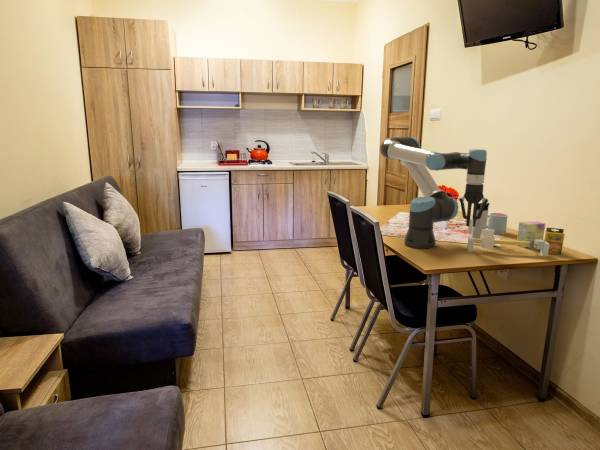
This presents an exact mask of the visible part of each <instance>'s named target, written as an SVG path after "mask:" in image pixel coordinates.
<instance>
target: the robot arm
mask: <svg viewBox="0 0 600 450" xmlns="http://www.w3.org/2000/svg"><path fill="white" fill-rule="evenodd" d="M420 147H421V143H420V142H419V140H418V139H417V138H415V137H413V136H394V137H393V136H390V137H388V138H385V139H384V140H383V141H382V142H381V144H380V146H379V151H380V155H381V156H382V157H384V158H385V159H387V160H388V159H389V160H393V161H394V160H395V161H396V160H398V161H399V163H400V165H402V166H405V168H406V169H407V171H408V173H409V174H410V176H411V177H412V179H413V180H414V182H415V184H416V185H417V187H418V189H419V191H420V192H421V194H422V196H418V197H417V196H416V197H415V198H414V197H413V199H411V200H410V205H409V215H408V229H407V231H406V234H405V235H404V239H403V244H404V245H405V246H406V247H410V248H414V249H431V248H434V247H436V237H435V234H434V224H435V223H440V222H448V221H451V220H453V219H454V218H455V217H456V216H457V215H458V213H459V203H460V208H461V214H462V218H464V219H465V221H466V222H465V226H466V227H467V233H468V235H472V232H473V227H475V223H476V220H477V219H480V218H481V215H482V212H483V210H484V207H485V204H486V203H489V199H488V198H485V196H484V186H485V185H484V183H485V174H486V173H485V172H486V166H487V160H488V158H487V154H488V151H487V150H486V149H482V148H481V149H476V148H474V149H473V148H472V149H469V151H468V152H467V153H466V152H458V151H456V152H455V151H453V152H449V153H448V152H447V153H443V152H442V153H441V152H436V151H432V150H428V149H422V148H420ZM444 170H466V178H465V179H466V181H465V182H466V184H465V190H464V194H463V196H461V197H458V201H459V203H458V201H457V200H456V198H454V197H452V196H448V194H447V193H446V191H445V190H441V189H440V187H439V185H438V184H437V183H436V181H435V179H434V178H433V176H432V174H431V173H430V171H438V172H439V171H444ZM465 200H466V202H467V210H466V206H465ZM478 203H482V204H481V206H480V209H479V212H478V214H477V206H478ZM472 206H473V209H472ZM466 211H467V212H466ZM471 215H472V218H471ZM476 215H477V216H476Z"/></svg>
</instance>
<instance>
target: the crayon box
mask: <svg viewBox="0 0 600 450" xmlns="http://www.w3.org/2000/svg"><path fill="white" fill-rule="evenodd" d="M545 229H546V230H545V232H544V238H543V241H545V242H548V243H549V251H548V254H553V255H554V254H555V255H561V254H562V253H563V252H562V251H563V246H564V245H563V244H564V239H565V235H566V234H565V233H564V231H565V230H564V228H556V227H555V228H554V227H546V228H545ZM554 230H555V231H554Z"/></svg>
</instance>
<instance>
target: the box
mask: <svg viewBox="0 0 600 450" xmlns="http://www.w3.org/2000/svg"><path fill="white" fill-rule="evenodd" d="M545 227H546V223H544V222H542V221H536V220H535V221H519V223H518V230H517V238H516V241H526V242H528V241H529V239H533V240H534V242H535V239H537V240H543V241H544V237H545V229H546V228H545ZM518 246H519V247H522V248H525V249H526V248H528V246H522V245H518Z"/></svg>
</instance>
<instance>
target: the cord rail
mask: <svg viewBox="0 0 600 450" xmlns="http://www.w3.org/2000/svg"><path fill="white" fill-rule="evenodd" d="M476 243H477V244H480V243H482V239H475V238H473V237H472V236H468V238H467V249H466V251H468V253H469V252H472V253H473V252H474V246H475V244H476ZM494 245H509V246H510V245H511V246H519V245H522V246H528V247H527V248H529V250H534V249H535V250H540V252H539V254H540V255H541V256H542V257H545V258H546V257H548V255H549V253H548V251H549V243H548V242H545V241H544V239H543V240H537V239H535V242H534V240H533V239H529V241H528V242H526V241H517V240H508V239H507V240H505V239H494Z"/></svg>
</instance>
